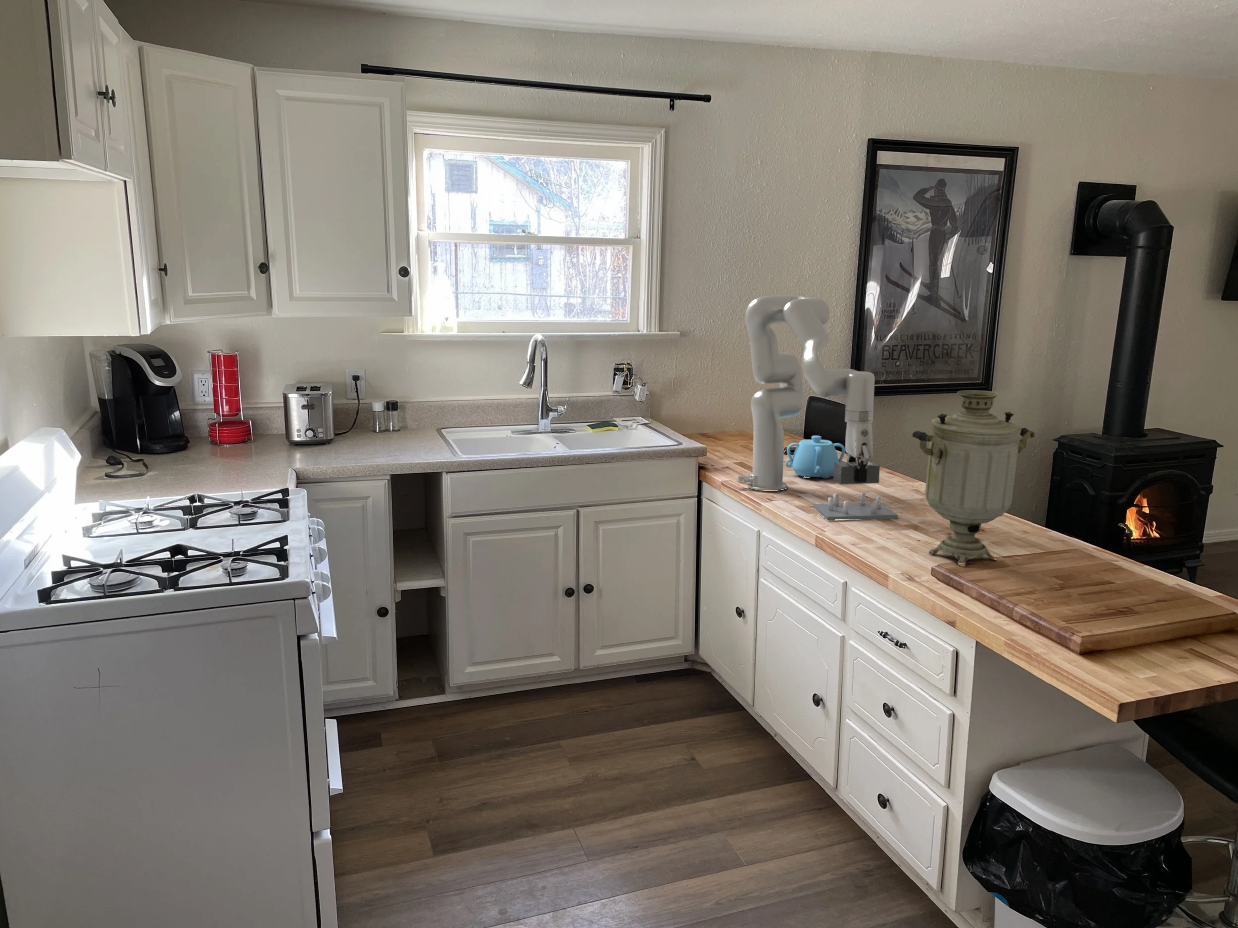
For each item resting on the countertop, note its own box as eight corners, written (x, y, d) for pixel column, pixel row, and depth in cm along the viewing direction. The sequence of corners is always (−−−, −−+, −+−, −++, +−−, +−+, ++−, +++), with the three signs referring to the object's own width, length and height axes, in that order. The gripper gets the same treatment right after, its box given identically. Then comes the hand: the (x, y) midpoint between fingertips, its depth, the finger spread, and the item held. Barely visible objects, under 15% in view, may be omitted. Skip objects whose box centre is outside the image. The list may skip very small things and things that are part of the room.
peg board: (827, 520, 252) (828, 504, 252) (812, 508, 266) (813, 492, 265) (897, 518, 254) (898, 502, 253) (879, 506, 268) (880, 490, 267)
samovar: (996, 537, 236) (1009, 383, 228) (1046, 569, 211) (1062, 397, 202) (882, 539, 236) (891, 384, 227) (918, 572, 210) (929, 399, 202)
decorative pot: (815, 468, 318) (817, 430, 315) (850, 477, 305) (851, 437, 302) (780, 474, 310) (781, 435, 307) (814, 483, 296) (815, 442, 293)
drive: (840, 484, 254) (841, 466, 253) (833, 479, 260) (834, 461, 259) (878, 483, 256) (879, 465, 255) (870, 478, 261) (871, 460, 260)
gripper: (883, 420, 246) (880, 486, 250) (861, 411, 263) (858, 472, 267) (856, 421, 246) (853, 486, 249) (835, 412, 262) (833, 473, 266)
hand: (856, 478), depth 258 cm, fingers closed on drive, 6 cm apart
